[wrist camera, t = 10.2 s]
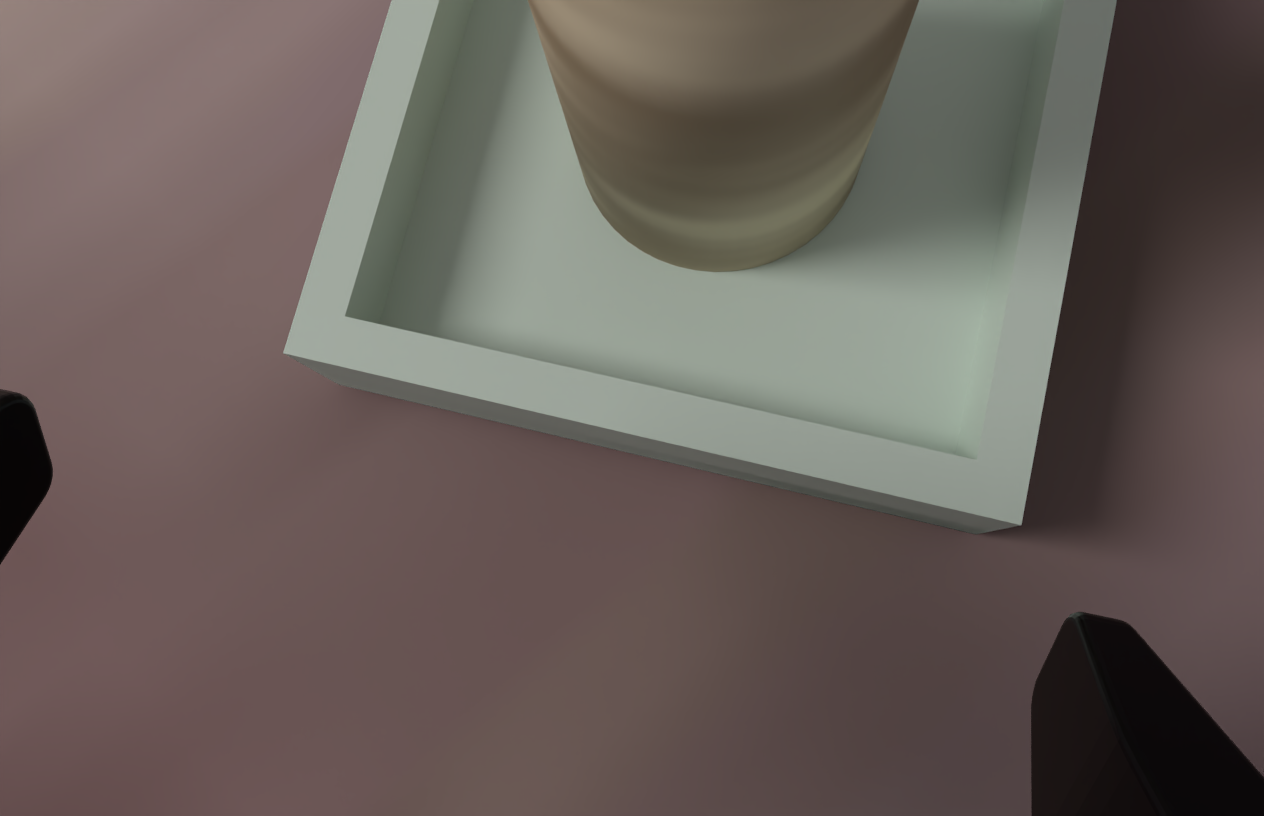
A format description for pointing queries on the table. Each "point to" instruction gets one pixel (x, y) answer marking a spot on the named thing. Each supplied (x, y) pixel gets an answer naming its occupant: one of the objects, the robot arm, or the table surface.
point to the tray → (733, 300)
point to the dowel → (721, 115)
